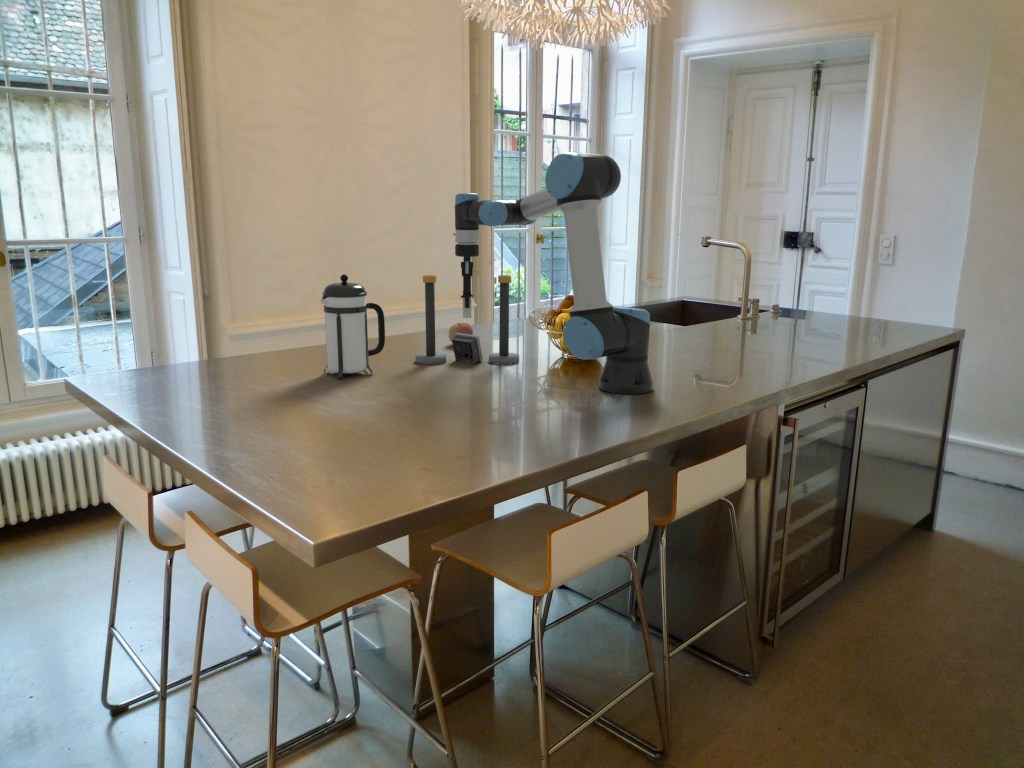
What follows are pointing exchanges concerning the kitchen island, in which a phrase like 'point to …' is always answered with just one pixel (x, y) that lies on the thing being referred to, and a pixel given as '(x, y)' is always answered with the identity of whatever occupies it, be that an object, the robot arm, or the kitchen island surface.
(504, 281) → the post
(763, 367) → the kitchen island surface
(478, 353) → the electrical switch
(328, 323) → the coffee press
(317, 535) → the kitchen island surface
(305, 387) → the kitchen island surface
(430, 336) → the post
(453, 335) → the apple
